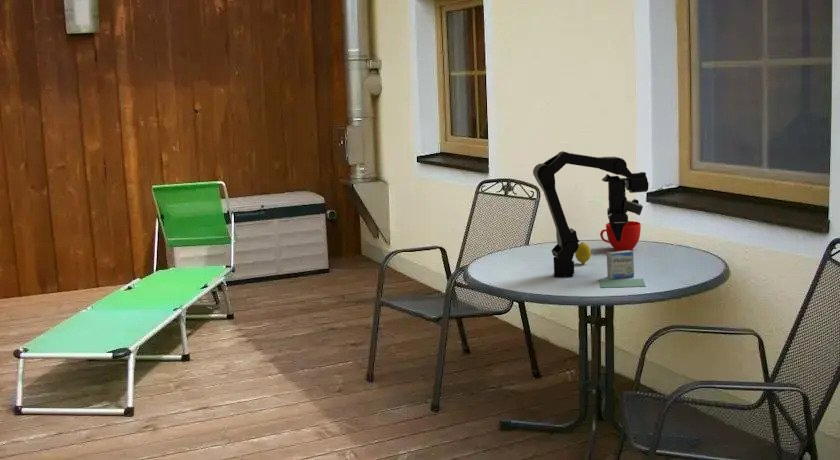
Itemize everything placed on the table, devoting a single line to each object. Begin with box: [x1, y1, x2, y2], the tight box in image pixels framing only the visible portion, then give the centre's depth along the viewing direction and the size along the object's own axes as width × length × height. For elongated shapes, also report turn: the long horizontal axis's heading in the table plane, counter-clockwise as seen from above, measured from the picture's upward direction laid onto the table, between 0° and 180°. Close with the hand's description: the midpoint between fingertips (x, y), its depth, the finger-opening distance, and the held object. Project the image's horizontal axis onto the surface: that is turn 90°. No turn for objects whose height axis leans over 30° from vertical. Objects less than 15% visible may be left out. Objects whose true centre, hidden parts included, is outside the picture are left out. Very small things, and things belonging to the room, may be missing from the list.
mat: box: [599, 278, 646, 289], centre depth 313 cm, size 14×10×1 cm
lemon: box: [574, 241, 592, 265], centre depth 347 cm, size 6×6×8 cm
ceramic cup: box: [599, 220, 642, 251], centre depth 367 cm, size 13×17×10 cm
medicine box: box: [606, 250, 635, 280], centre depth 322 cm, size 8×4×9 cm, turn 101°
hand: (617, 239), depth 331 cm, fingers open, 9 cm apart
